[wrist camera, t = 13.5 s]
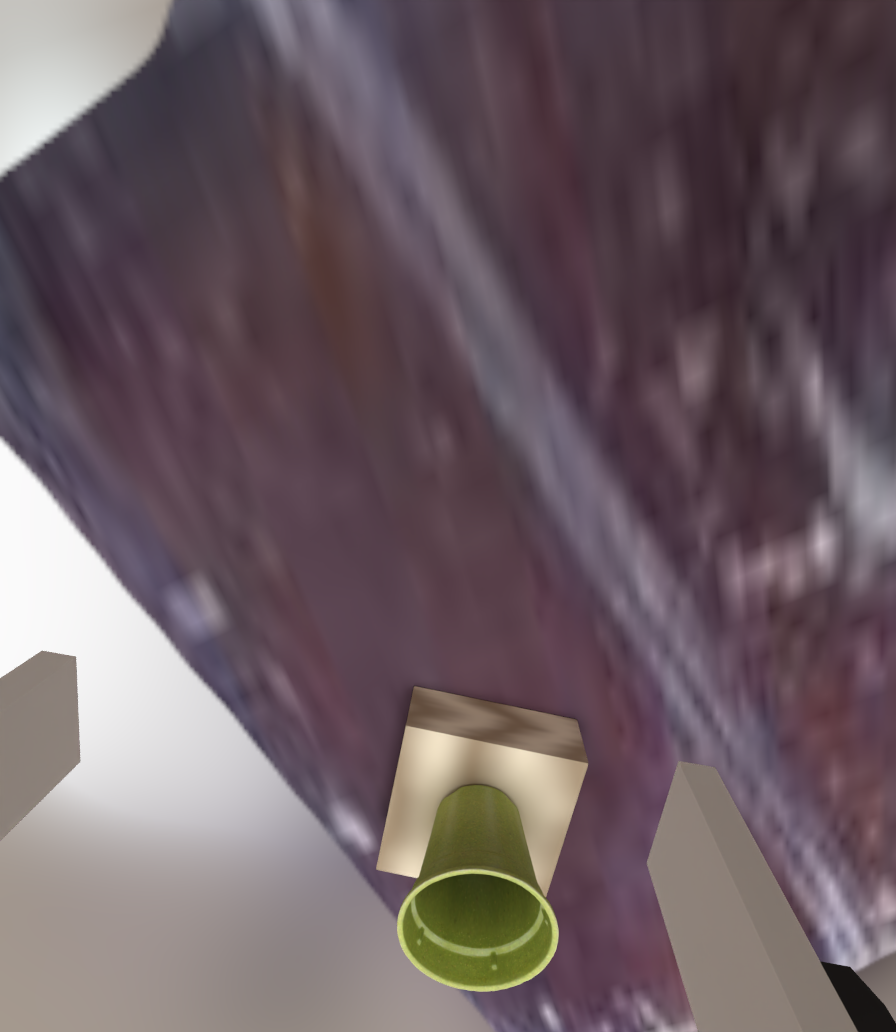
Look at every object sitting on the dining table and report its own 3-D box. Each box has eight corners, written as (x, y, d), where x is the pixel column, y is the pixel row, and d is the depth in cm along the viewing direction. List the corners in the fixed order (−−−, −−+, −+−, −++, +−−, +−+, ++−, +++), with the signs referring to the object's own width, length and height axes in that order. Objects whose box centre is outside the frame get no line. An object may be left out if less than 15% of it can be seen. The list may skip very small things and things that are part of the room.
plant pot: (538, 874, 43) (551, 999, 34) (412, 864, 43) (396, 986, 35) (547, 768, 40) (565, 876, 32) (414, 759, 41) (397, 864, 32)
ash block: (576, 719, 45) (588, 763, 40) (537, 849, 48) (543, 904, 43) (413, 685, 45) (406, 725, 40) (386, 818, 48) (376, 869, 43)
